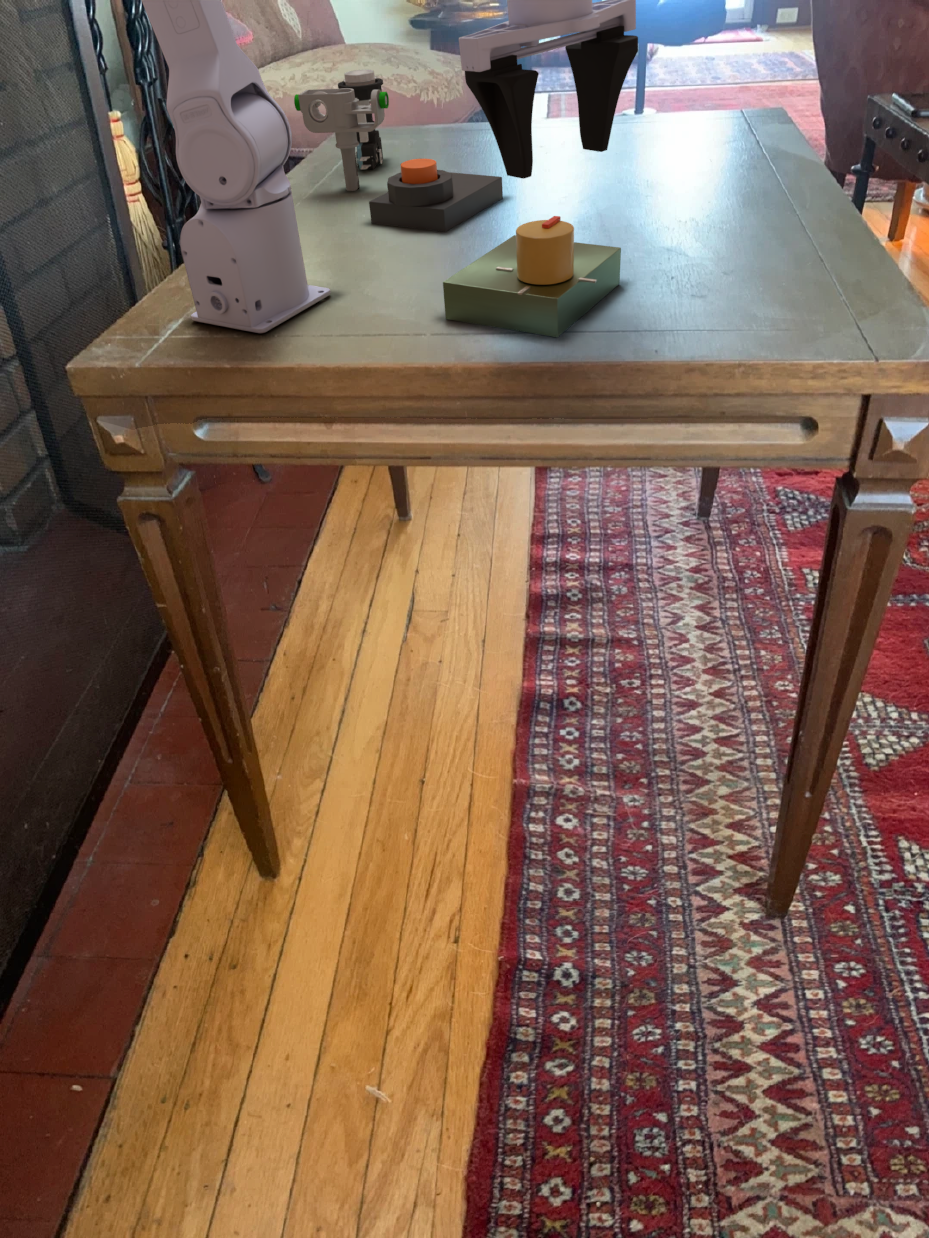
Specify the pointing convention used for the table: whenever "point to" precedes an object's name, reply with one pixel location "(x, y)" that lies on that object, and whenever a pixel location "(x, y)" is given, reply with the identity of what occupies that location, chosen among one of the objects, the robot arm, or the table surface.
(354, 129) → the mechanical component
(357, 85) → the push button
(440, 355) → the table surface
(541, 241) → the dial knob
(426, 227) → the box
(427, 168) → the button
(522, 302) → the block
